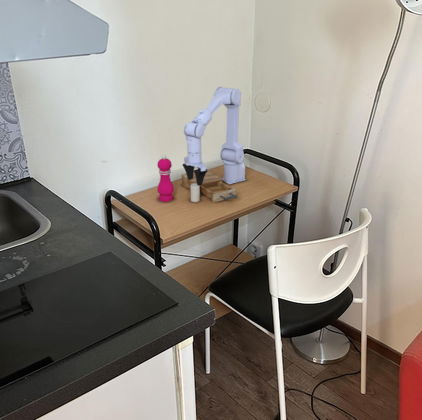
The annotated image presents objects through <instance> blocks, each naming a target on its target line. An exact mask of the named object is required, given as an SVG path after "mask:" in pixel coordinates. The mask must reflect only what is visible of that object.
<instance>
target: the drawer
mask: <svg viewBox="0 0 422 420" xmlns="http://www.w3.org/2000/svg"><path fill="white" fill-rule="evenodd" d="M200 192H201V193H203V194H202V195H205V197H207V198H209V199H211V200H212V202H213V203H216V202H220V201H224V202H227V201H230V200H234V199H237V198H238V194H237V188H232V187H230V186H228V185H227V184H226V183H223V182H222V183H221V182H219V181H217V182H213V183H209V184H205V185H201V186H200Z"/></svg>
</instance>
